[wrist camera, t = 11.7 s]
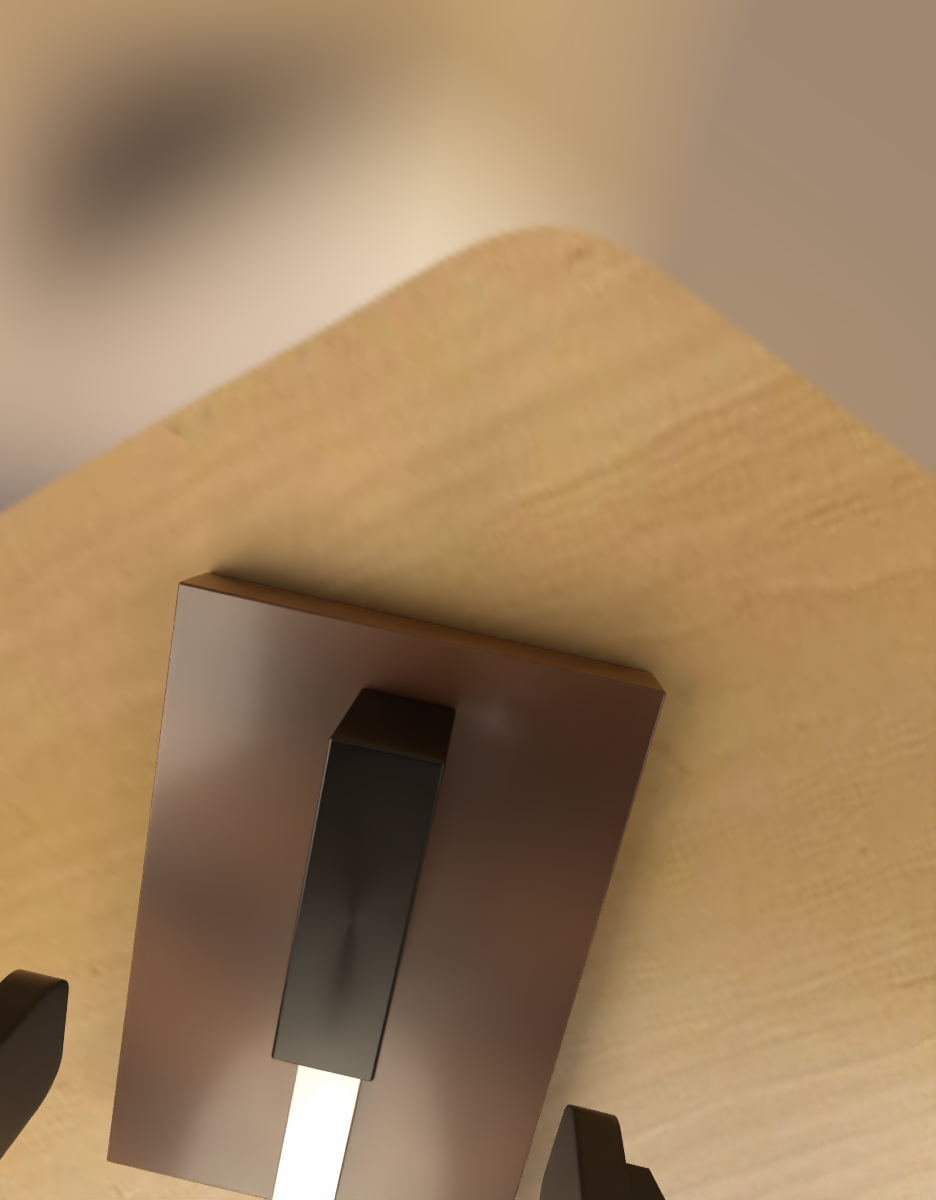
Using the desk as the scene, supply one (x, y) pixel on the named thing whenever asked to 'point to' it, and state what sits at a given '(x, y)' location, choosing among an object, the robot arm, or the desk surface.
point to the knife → (353, 923)
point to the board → (441, 909)
